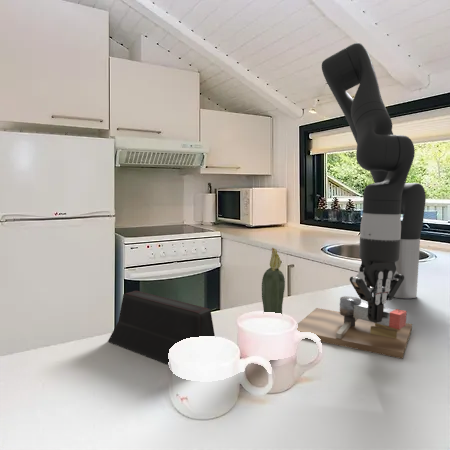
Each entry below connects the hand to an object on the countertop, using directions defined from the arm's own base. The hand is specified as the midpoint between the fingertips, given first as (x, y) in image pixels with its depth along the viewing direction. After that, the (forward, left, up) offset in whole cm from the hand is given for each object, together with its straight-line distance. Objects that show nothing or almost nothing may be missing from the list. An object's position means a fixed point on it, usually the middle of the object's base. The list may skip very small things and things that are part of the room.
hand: (375, 321), depth 79 cm
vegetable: (+15, -16, -5) cm, 23 cm away
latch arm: (-4, -2, -1) cm, 4 cm away
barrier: (+25, -34, -5) cm, 43 cm away
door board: (-4, -5, -5) cm, 8 cm away
